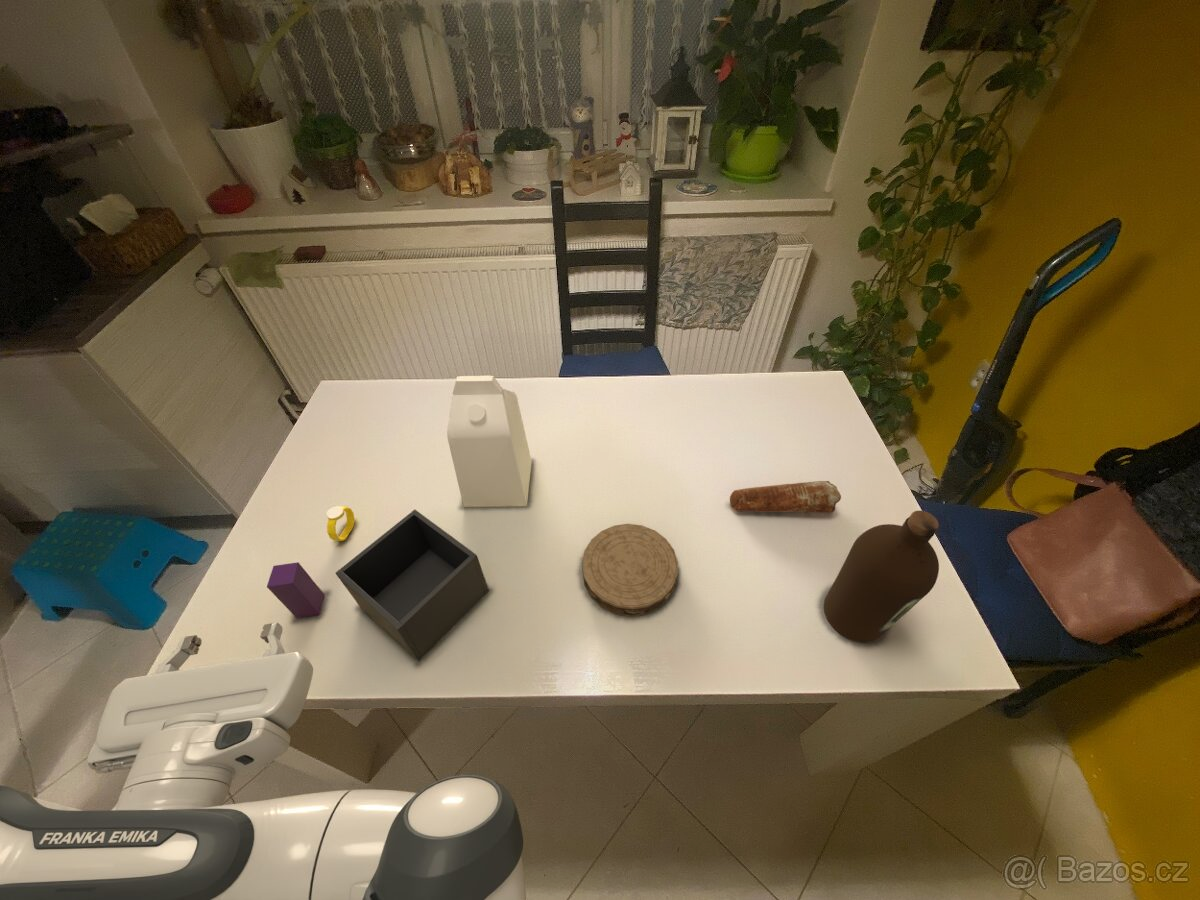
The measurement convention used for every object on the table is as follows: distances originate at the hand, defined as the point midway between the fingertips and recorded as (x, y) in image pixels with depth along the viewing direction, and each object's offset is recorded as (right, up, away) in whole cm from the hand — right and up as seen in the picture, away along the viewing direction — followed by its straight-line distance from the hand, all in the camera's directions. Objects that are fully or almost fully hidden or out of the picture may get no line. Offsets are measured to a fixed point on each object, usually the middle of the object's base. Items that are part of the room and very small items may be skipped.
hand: (233, 631), depth 62 cm
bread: (+79, +11, +33) cm, 86 cm away
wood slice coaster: (+50, +1, +24) cm, 56 cm away
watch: (-1, +7, +30) cm, 31 cm away
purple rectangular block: (-2, -3, +20) cm, 20 cm away
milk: (+25, +16, +38) cm, 48 cm away
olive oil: (+85, -4, +18) cm, 87 cm away
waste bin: (+16, -2, +21) cm, 27 cm away
